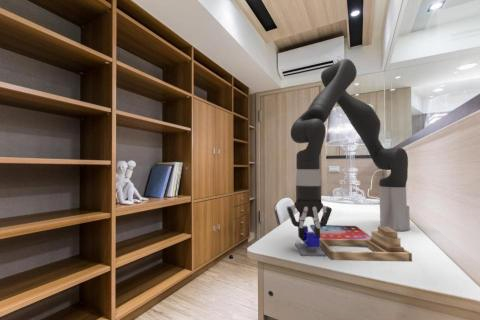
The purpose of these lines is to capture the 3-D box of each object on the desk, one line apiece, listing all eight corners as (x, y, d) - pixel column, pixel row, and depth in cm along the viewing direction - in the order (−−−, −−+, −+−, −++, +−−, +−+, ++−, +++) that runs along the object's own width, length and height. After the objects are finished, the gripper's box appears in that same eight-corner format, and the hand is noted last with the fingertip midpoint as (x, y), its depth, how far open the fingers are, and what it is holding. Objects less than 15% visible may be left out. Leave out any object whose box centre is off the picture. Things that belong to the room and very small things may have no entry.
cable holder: (319, 247, 64) (319, 233, 64) (307, 247, 64) (307, 233, 64) (311, 238, 72) (311, 225, 72) (300, 238, 72) (300, 225, 72)
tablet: (322, 247, 72) (322, 244, 72) (309, 226, 97) (309, 224, 97) (386, 249, 70) (386, 247, 70) (356, 227, 94) (356, 225, 94)
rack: (386, 245, 72) (386, 239, 72) (411, 261, 60) (411, 253, 60) (318, 244, 73) (318, 238, 73) (331, 259, 61) (331, 252, 61)
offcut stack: (385, 245, 70) (384, 225, 71) (404, 256, 62) (403, 233, 62) (370, 245, 71) (369, 225, 71) (387, 256, 62) (386, 233, 62)
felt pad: (316, 245, 73) (316, 243, 73) (325, 256, 64) (325, 254, 64) (295, 244, 73) (295, 243, 73) (301, 255, 64) (301, 253, 64)
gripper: (327, 183, 72) (328, 236, 72) (283, 183, 73) (284, 235, 73) (336, 184, 65) (337, 244, 64) (287, 184, 66) (287, 243, 65)
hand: (309, 239), depth 69 cm, fingers closed on cable holder, 3 cm apart
